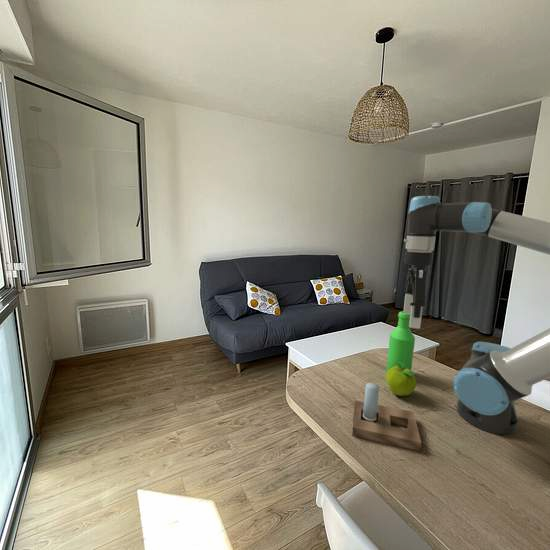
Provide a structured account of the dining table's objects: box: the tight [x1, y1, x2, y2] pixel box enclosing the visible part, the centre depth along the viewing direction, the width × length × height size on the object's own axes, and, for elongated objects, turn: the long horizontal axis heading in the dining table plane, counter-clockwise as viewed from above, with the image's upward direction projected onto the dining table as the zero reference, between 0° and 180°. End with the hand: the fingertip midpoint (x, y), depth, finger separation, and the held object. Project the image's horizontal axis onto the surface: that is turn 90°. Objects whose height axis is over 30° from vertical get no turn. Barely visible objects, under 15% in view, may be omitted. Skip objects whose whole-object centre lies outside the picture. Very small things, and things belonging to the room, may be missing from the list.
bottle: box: [386, 310, 416, 372], centre depth 111 cm, size 9×9×25 cm
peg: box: [362, 382, 380, 423], centre depth 84 cm, size 4×4×12 cm
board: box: [351, 399, 422, 452], centre depth 83 cm, size 17×13×2 cm
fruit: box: [385, 362, 417, 397], centre depth 100 cm, size 9×9×10 cm
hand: (411, 320), depth 89 cm, fingers open, 13 cm apart
